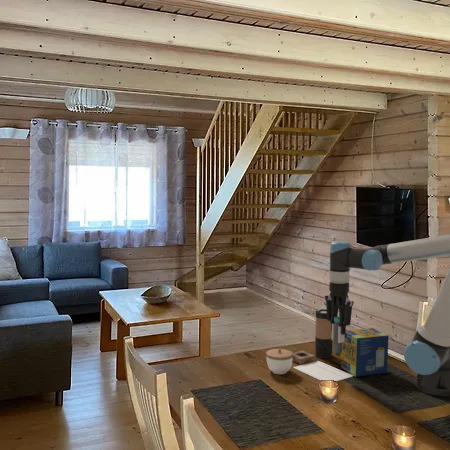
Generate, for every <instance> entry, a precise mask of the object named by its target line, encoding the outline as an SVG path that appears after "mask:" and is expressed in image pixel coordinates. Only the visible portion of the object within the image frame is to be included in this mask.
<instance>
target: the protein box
mask: <svg viewBox="0 0 450 450" xmlns="http://www.w3.org/2000/svg"><path fill="white" fill-rule="evenodd" d="M388 354H389V335H388V334H386V333H383V332H382V331H380V330H377V329H375V328H361V329H350V330H346V334H345V337H344V342H342V353H340V357H341V358H340V361H341V363H340V368H341V369H342V370H344V371H345V372H346V373H349V374H351V375H353V376H354V377H362V376H371V375H377V374H386V373H388V363H389V362H388V359H389V358H388V357H389V355H388Z"/></svg>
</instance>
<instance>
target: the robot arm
mask: <svg viewBox="0 0 450 450" xmlns="http://www.w3.org/2000/svg"><path fill="white" fill-rule="evenodd" d="M443 257H448V259H449V260H450V234H444V235H443V234H442V235H438V236H432V237H426V238H419V239H414V240H408V241H402V242H401V241H400V242H396V243H389V244H380V245H376V246H371V247H368V248H354V247H351V243H350V242H348V241H339V240H338V241H337V240H336V241H333V242H331V243H330V248H329V282H328V283H329V284H328V285H329V287H328V289H329V292H330V293H329V294H326V295H324V299H325V303H326V310H327V320H328V321H330V323H331V331H332V340H333V341H334V317H335V316H339V318H340V325H339V326H338V343H341V342H344V337H345V334H346V331H347V329H346V327H347V326H350V325H351V320H352V311H353V305H354V304H355V301H354V300H350V299H349V294H348V293H349V292H350V283H349V282H350V269H359V270H366V271H379V270H380V269H381V267H382V266H384V265H390V264H398V263H404V262H405V263H406V262H412V261H420V260H422V261H423V260H428V259H435V258H437V259H438V258H443ZM403 356H404V361H405V363H406V365H407V366H408V367H409V369H411V370H412V372H414V373H416V378H415V387H416V388H417V390H419V391H420V392H422V393H425V394H426V395H430V396H431V395H432V396H437V397H446V398H447V397H450V268H449V269H448V271H447V274H446V276H445V278H444V280H443V282H442V284H441V287H440V289H439V291H438V294H437V296H436V298H435V301H434V302H433V304H432V307H431V309H430V312H429V313H428V316H427V318H426V320H425V322H424V324H423V325H420V326H418V327H417V329H416V331H415V332H414V335H413V337H412V340H411V342H409V343H408V344H407V345H406V347H405V348H404V351H403Z"/></svg>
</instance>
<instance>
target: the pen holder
mask: <svg viewBox="0 0 450 450" xmlns="http://www.w3.org/2000/svg"><path fill="white" fill-rule="evenodd" d="M292 353H293V361H292V363H293V362H294V363H295V364H298V365H299V366H300V365H304V364H308V363H312V362H316V354H313V353H310V352H307V351H305V350H299V351H293V352H292Z"/></svg>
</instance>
